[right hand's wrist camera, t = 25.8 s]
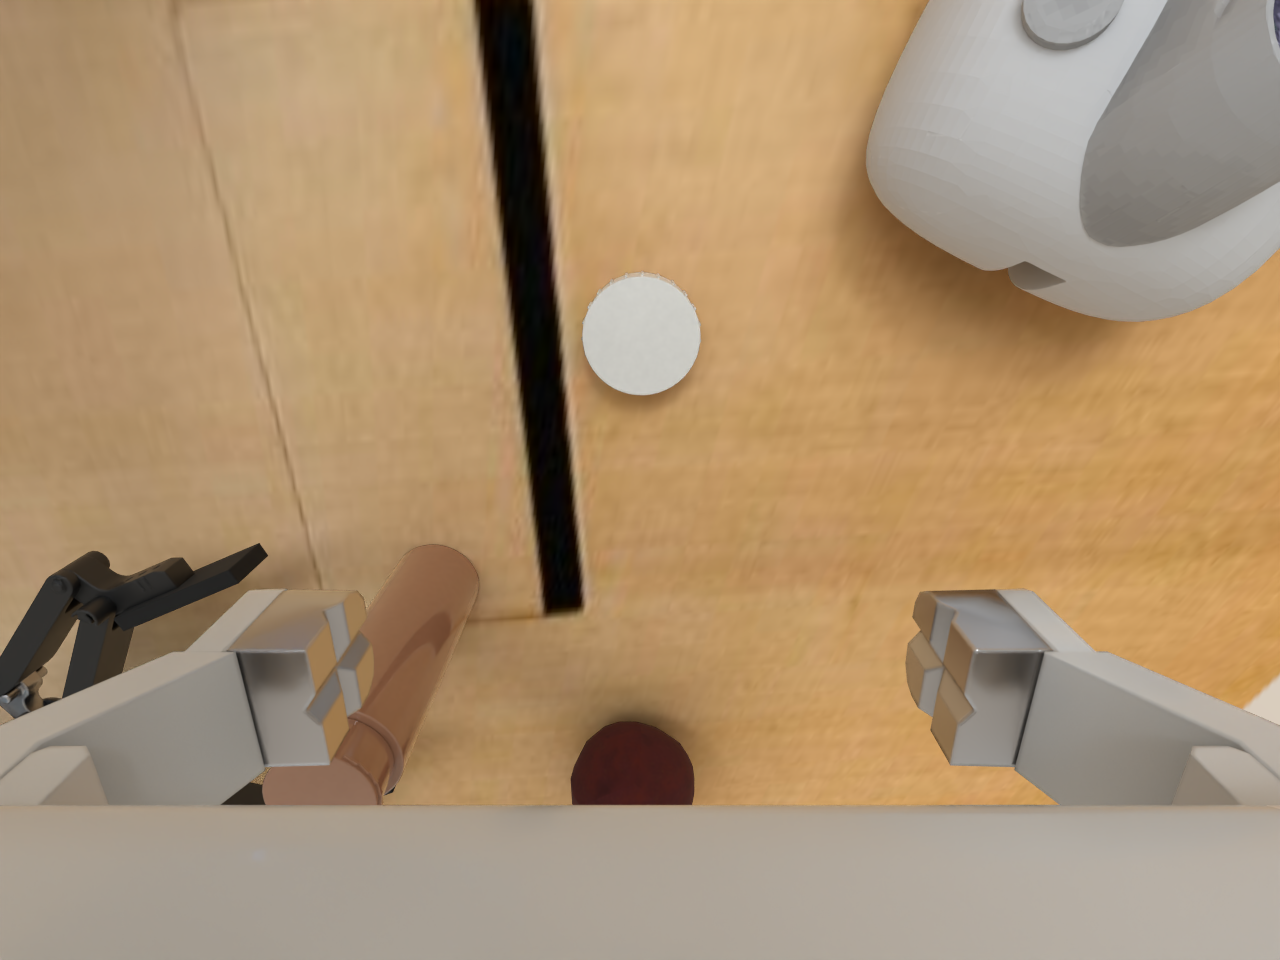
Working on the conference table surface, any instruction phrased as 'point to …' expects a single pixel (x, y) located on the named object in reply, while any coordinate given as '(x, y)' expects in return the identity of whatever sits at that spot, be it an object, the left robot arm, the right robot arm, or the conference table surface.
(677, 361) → the lid
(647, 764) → the potato
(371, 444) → the conference table surface
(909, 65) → the projector
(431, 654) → the pinkish brown bottle
